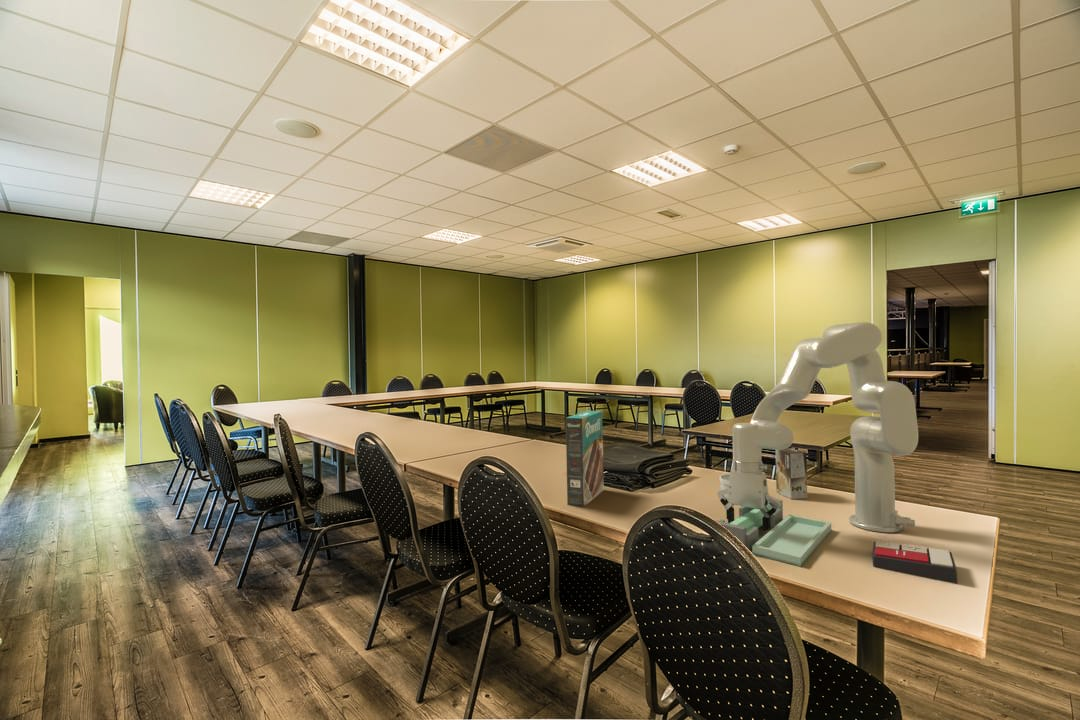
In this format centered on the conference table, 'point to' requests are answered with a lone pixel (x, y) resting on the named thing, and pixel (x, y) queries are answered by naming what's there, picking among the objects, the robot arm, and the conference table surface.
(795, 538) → the tray
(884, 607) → the conference table surface
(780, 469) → the coffee box
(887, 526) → the robot arm
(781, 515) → the bay
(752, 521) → the green hexagonal bar
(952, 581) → the black switch panel
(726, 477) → the ramekin
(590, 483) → the cake mix box
